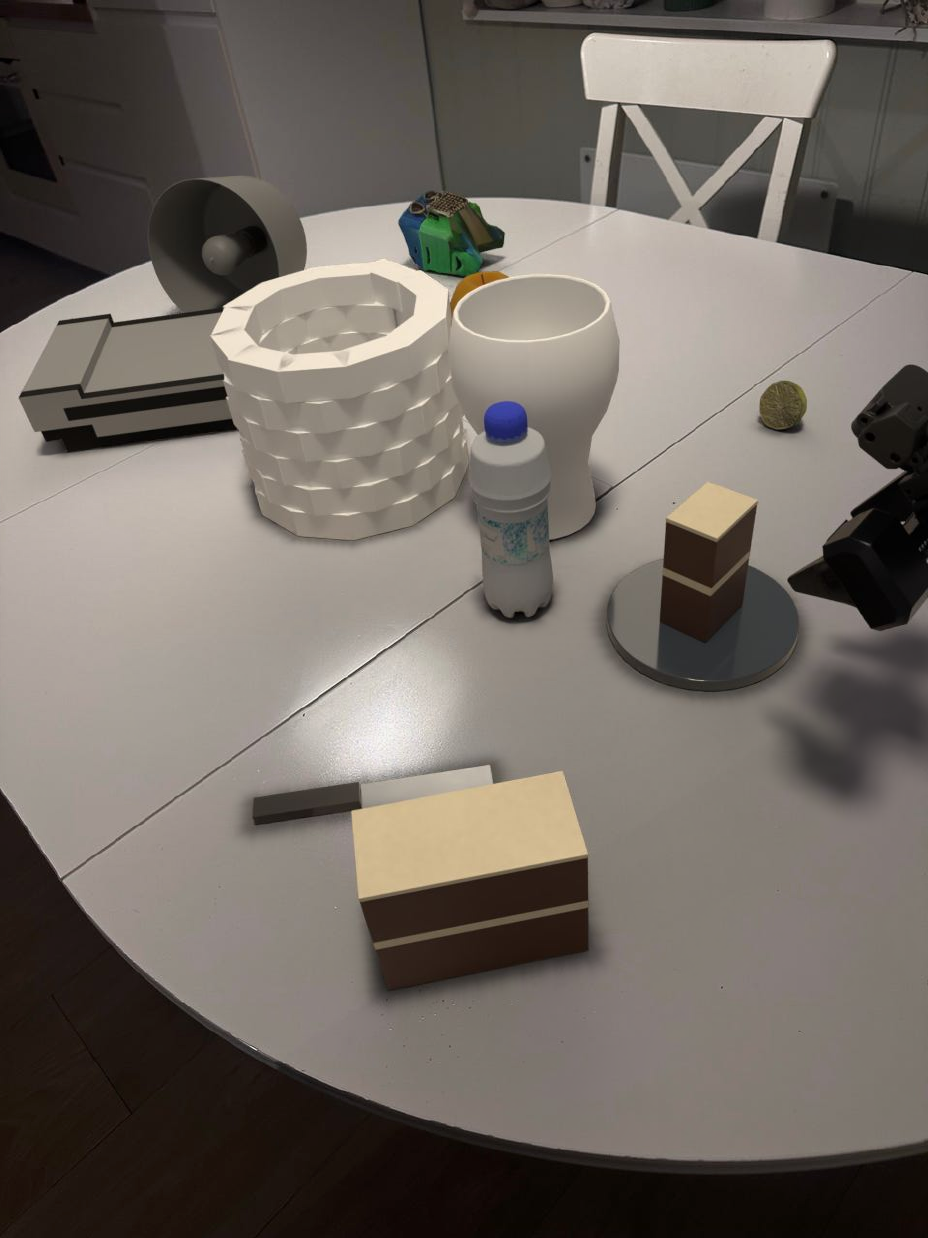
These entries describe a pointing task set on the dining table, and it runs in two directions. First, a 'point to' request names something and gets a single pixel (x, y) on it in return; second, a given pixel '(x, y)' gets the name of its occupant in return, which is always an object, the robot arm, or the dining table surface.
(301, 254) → the light fixture
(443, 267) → the sculpture
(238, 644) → the dining table surface
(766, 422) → the lime
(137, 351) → the game console
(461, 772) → the cake knife
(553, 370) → the white vase
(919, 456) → the robot arm
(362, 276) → the basket
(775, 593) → the plate
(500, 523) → the bottle
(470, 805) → the cake
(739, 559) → the cake slice
